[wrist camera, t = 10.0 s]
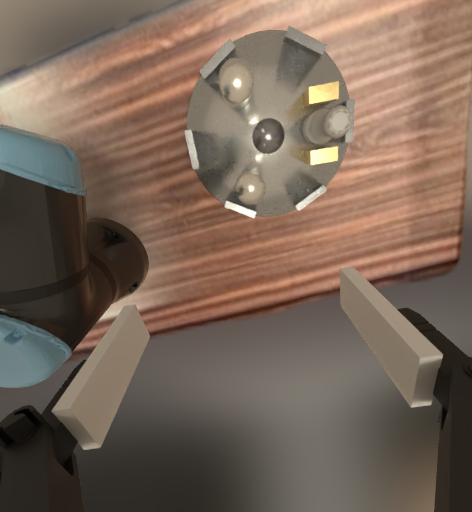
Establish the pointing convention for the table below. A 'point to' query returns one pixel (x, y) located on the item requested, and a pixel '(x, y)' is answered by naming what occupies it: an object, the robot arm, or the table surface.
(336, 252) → the table surface
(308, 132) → the rook chess piece
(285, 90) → the carrier plate
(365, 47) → the table surface
